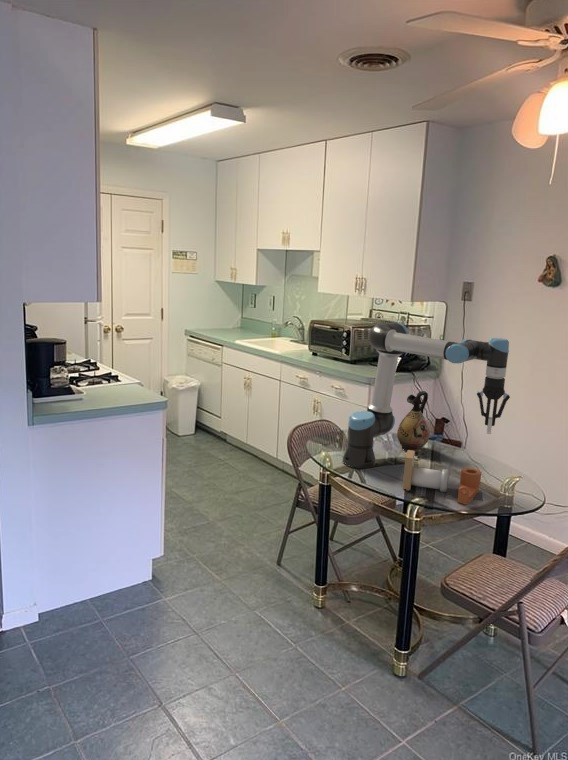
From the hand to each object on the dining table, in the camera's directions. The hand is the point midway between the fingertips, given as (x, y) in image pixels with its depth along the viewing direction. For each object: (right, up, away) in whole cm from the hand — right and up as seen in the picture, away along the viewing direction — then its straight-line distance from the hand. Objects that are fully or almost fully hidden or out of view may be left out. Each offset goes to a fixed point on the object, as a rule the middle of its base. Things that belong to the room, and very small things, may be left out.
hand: (488, 433), depth 236 cm
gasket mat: (-10, -25, -1) cm, 27 cm away
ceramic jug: (-19, -13, +52) cm, 57 cm away
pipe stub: (-25, -23, +3) cm, 35 cm away
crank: (-13, -21, -2) cm, 24 cm away
